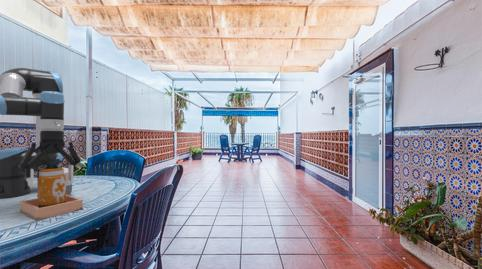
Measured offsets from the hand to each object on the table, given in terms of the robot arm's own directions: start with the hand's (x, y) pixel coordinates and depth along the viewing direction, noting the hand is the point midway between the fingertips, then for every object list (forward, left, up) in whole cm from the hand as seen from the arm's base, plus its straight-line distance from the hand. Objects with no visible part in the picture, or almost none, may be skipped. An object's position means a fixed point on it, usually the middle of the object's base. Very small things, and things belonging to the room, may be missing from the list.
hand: (52, 183), depth 96 cm
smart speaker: (-21, +11, -11) cm, 26 cm away
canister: (0, 0, -10) cm, 10 cm away
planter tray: (0, 0, -11) cm, 11 cm away
